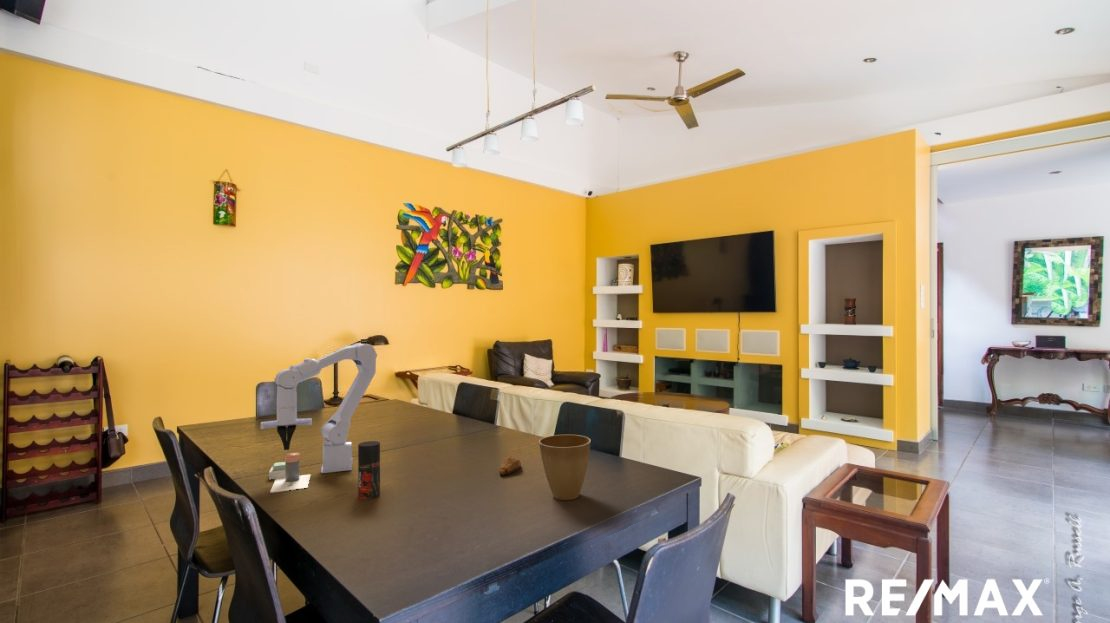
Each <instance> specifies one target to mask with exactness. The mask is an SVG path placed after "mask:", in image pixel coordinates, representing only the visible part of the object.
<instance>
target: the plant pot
mask: <svg viewBox="0 0 1110 623" xmlns="http://www.w3.org/2000/svg"><path fill="white" fill-rule="evenodd" d="M591 441H592V440H591V438H589V437H588V436H585V435H580V434H555V435H549V436H545V437H542V438H541V439H539V440H538V444H539V451H540V456H541V461H542V465H543V469H544V473H545V477H546V480H547V483H548V486H549V488H550V491H551V494H552V496H553V498H554V499H556V500H561V501H572V500H575V499H578V497H579V496H580V494H581V491H582V488H583V484H584V481H585V478H586V473H587V469H588V463H589V459H590V458H589V457H590V450H591Z"/></svg>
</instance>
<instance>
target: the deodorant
mask: <svg viewBox="0 0 1110 623" xmlns="http://www.w3.org/2000/svg"><path fill="white" fill-rule="evenodd" d="M357 445H358V447H357V449H358V450H357V451H358V452H357V456H358V457H357V462H358V463H357V465H358V468H357V470H358V471H357V472H358V473H357V480H358V481H357V484H358V487H357V491H358V492H357V497H358V499H361V500H371V499H375V498H378V497H379V496H380V495H381V442H380V441H378V440H369V441H362V442H359V443H358V444H357Z"/></svg>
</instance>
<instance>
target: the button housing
mask: <svg viewBox="0 0 1110 623" xmlns="http://www.w3.org/2000/svg"><path fill="white" fill-rule="evenodd" d="M282 477H285V470H278V471H273V466H271V468H270V470H269V471H268V480H269V481H270V480H271V479H273V480H276V478H282Z"/></svg>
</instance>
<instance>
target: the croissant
mask: <svg viewBox="0 0 1110 623" xmlns="http://www.w3.org/2000/svg"><path fill="white" fill-rule="evenodd" d="M521 464H522V463H521V461H520V459H518V458H516V457H512V456H508V457H506V458H504V459H503V460H502V462H501V464H500V467H499V469H498V472H499V475H500V476H501V477H502V476H509V475H510V474H512V473H515V472H517V471H518V470H519V468H520V467H521Z"/></svg>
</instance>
